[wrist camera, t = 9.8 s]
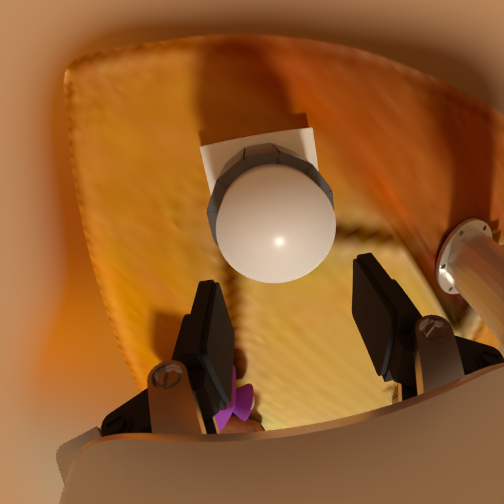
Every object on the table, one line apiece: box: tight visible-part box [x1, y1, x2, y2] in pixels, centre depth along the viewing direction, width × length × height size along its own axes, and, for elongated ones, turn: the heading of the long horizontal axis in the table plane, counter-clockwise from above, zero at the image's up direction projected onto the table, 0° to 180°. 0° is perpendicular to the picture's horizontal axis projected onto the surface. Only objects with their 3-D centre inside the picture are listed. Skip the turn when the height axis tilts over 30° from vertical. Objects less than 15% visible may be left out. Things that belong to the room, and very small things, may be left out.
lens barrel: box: [200, 127, 334, 246], centre depth 24 cm, size 11×11×10 cm
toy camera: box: [214, 365, 255, 431], centre depth 37 cm, size 11×14×10 cm
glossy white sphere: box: [216, 164, 336, 283], centre depth 20 cm, size 8×8×7 cm
